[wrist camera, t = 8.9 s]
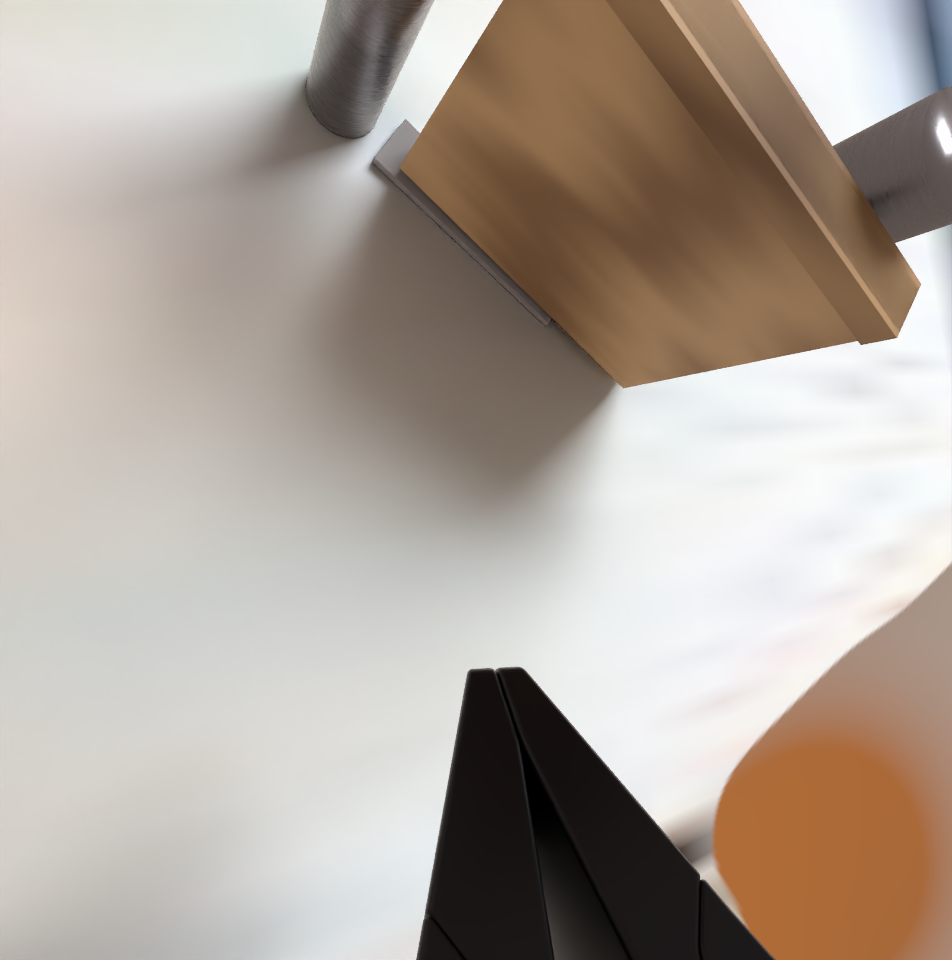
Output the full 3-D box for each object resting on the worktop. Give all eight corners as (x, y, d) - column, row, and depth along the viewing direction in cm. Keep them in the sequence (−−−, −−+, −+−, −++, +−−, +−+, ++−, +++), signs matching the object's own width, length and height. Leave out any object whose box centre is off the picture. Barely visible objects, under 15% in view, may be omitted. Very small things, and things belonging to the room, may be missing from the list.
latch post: (648, 322, 20) (1000, 203, 11) (599, 344, 19) (941, 232, 10) (627, 257, 20) (976, 78, 11) (576, 276, 19) (912, 97, 10)
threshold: (567, 289, 19) (572, 287, 18) (544, 325, 18) (548, 323, 18) (402, 124, 16) (405, 118, 16) (372, 162, 16) (374, 157, 16)
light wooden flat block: (395, 171, 16) (576, -121, 8) (425, 135, 16) (624, -177, 8) (621, 391, 19) (897, 337, 11) (641, 358, 19) (921, 284, 12)
